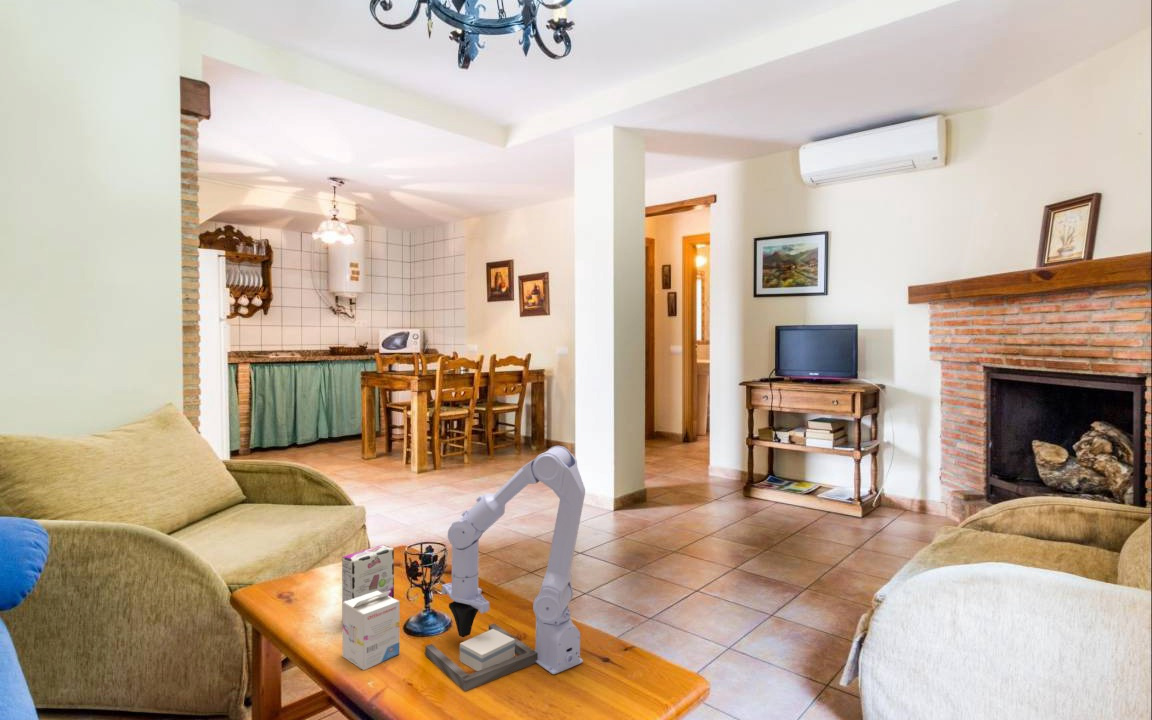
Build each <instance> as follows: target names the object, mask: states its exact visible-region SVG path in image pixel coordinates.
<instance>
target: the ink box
mask: <svg viewBox="0 0 1152 720" xmlns="http://www.w3.org/2000/svg"><path fill="white" fill-rule="evenodd" d="M390 592H391V590H390V591H387V592H384V593H382V592H380V591H374V592H372V593H369V594H366V595H363V596H360V597H357V598H354V599H351V600H348V601H345V602H343V623H342V657H343V658H344V659H346V660H347V661H349V662H350V663H352V664H354V665H355V666H356V667H357V668H359V669H361V670H362V671H366V670H368V669H370V668H372V667H375V666H377V665H379V664H381V663H383V662H385V661H387V660H390V659H392V658H393V657H396V656H398V655H400V617H401V616H400V613H401V612H400V608H401V607H400V606H401V605H400V604H401V603H400V600H399V599H396V598H395V597H394V598H392V597H390V596H388V594H389V593H390Z"/></svg>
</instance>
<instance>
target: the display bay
mask: <svg viewBox="0 0 1152 720" xmlns="http://www.w3.org/2000/svg"><path fill="white" fill-rule="evenodd" d="M491 629H495V630H497V631H499V632H501V633H503V634H505V635H507V636H509V637H511V638H513V639H515V655H517V656H515V657H513V658H511V659H509V660H506V661H504V662H501V663H498V664H496V665H493V666H490V667H488V668H485V669H482V670H480V671H474V672H472V673H470V674H468V673H466V672H465V671H464V670H463V669H462V668H461V667H459V665H458V664H456V663H455V662H454V661H453V660H452V659H450V658H449V657H448V656H447V655H446V654H444V653H443V652H442V651H441V650H440V649H438V648H437V647H436V646H435V645H434V644H433V643H431V644H427V645H424V647H425V648H424V656H425V657H426V658H428V659H429V660H430V661H431V662H432V663H433V664H434V665H435V666H436V667H437V668H439V669H440V670H441V672H443V673H444V674H445V675H446V676H447V677H449V679H451V680H452V681H453V682H454V683H455V685H457V686H458V687H459V688H460V689H461V690H462V691H464V692H468V691H469V690H472V689H474V688H477V687H480V686H482V685H485V684H487V683H489V682H492V681H495V680H498V679H500V678H503V677H505V676H507V675H510V674H512V673H514V672H515V673H516V672H518V671H520V670H522V669H525V668H527V667H530V666H532V665H535V664H537V663H536V660H537V656H538V653H537V652H535V650H534V649H533V648H531V647H530V646H528V645H526V644H525V643H524V642H522V641H521V640H519V638H517V637H515V636H513V635H512V634H511V633H509V632H508V631H506V630H505V629H503V628H501V627H500V626H499V625H497V623H491V624H488V631H489V630H491Z"/></svg>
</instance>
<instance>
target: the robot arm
mask: <svg viewBox="0 0 1152 720" xmlns="http://www.w3.org/2000/svg"><path fill="white" fill-rule="evenodd" d="M539 482H540V483H542V484H543V485H545V486H546V487H548V488H549V489H551V490H552V491H553V492H554V493H555V494H556V496H557V498H559V504H558V509H557V513H556V517H555V518H556V519H555V523H554V530H553V535H552V539H551V540H552V541H551V545H550V552H549V556H548V562H547V567H546V572H545V575H544V577H543V580H542V583H541V586H540V590H539V593H538V595H536V597H535V598H534V600H533V604H532V608H533V609H532V610H533V613H534V615H535V650H534V651H535V652H537V653H538V656H537V660H536V663H535V664H537V665H538V666H540V667H542V668H543V669H545V670H546V671H547V672H549V673H550V674H552V675H556V674H559V673H562V672H564V671H566V670H568V669H570V668H571V669H572V668H573V667H575V666H577V665H581V664H583V662H584V660H583V659H582V658H581V632H580V630H579V628H578V627H577V626H576V625H575V624H574V623H573V621H572V618H571V611H570V608H569V606H568V604H569V603H571V601H572V598H573V595H574V592H573V586H572V576H573V575H572V571H571V569H572V565H573V559H574V554H575V549H576V544H577V538H578V533H579V528H580V523H581V516H582V511H583V507H584V501H585V495H586V488H585V485H584V482H583V479H582V475H581V474H580V470H579V467H578V460H577V458H576V457H575V456H574V455H573V453H571V451H570V450H569V449H568V448H567V447H565V446H562V445H555V446H552V447H550V448H548V450H547V451H545V452H543V453H540V454H538V455H537V456H536V457H535V458H534V459H532V460H530V461H529V462H527V463H526V464H524V465H523V466H522V467H520V468H519V470H518V471H517V472H515V473H514V474H513V476H512V477H511V478H510V479H508V481H506V482H505V484H503V486H502V487H501V488H500V489H498V490H497V491H496V493H486V494H485V495H483V494H481V495H479V496H478V497H477V498H476V499H475V500H476V503H475V504H474V505H473V506H472V507H471V508H470V509H468V510H464V511H463V512H462V514H461V516H462V517H461V518H460V519H458V520H456V521H454V522H453V523H452V524H450V527H449V528H448V531H447V538H448V539H447V540H448V543H450V544H451V582H448V583H443V584H442V585H441V594H442V595H444V596H445V595H447V596H448V597H449V599H450V600H452V601H451V602H449V604H448V608H449V610H450V611H451V614H452V615H453V617H454V621H455V625H456V630H457V632H458V636H459V637H460V638H465V637H468V636H470V635H471V631H472V628H473V623H474V621H475V619H476V616H477V614H478V612H479V613H480V614H484V613H487V612H490V601H488V600H487V599H486V598H485V597H484V596H483V594H481V593H482V588H480V587H479V558H480V557H479V540H480V539H481V537H482V536H483V534H484V533H485V532H487V530H488V529H490V527H492V526H493V525H494V524H495V523H496V522H497V521H498V520H499V519H500V518H501V517H503V516H504V514H505V512H506V511H505V509H506V505H507V504H508V503H509V502H510V501H511V500H512V499H513V498H515V496H517V494H519V493H520V492H522V490H523V489H525V488H526V487H527V486H528V485H534V484H538V483H539Z"/></svg>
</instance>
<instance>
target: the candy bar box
mask: <svg viewBox="0 0 1152 720" xmlns="http://www.w3.org/2000/svg"><path fill="white" fill-rule="evenodd" d="M394 550H395V549H394V548H393V547H391V546H387V545H385V544H380V545H377V546H374V547H373V546H372V547H370V548H366V549H363V550H360V551H357V552H354V553H351V554H347V555H344V556H342V557H341V569H342V570H341V584H342V585H341V589H342V590H341V592H342V593H341V596H342V597H341V598H342V599H341V600H342V605H341V607H342V609H341V610H342V613H341V614H342V619H341V620H342V621H341V623H342V624H343V602H345V601H348V600H351V599H354V598H357V597H360V596H363V595H366V594H369V593H372V592H374V591H380V592H382V593H384V592H387V591H390V590H391V592H390V593H389V594H388V596H390V597H392V598H394V599H395V582H394V580H395V579H394V578H395V563H394V562H395V561H394V560H395V557H394V555H395V553H394V552H395V551H394Z"/></svg>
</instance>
